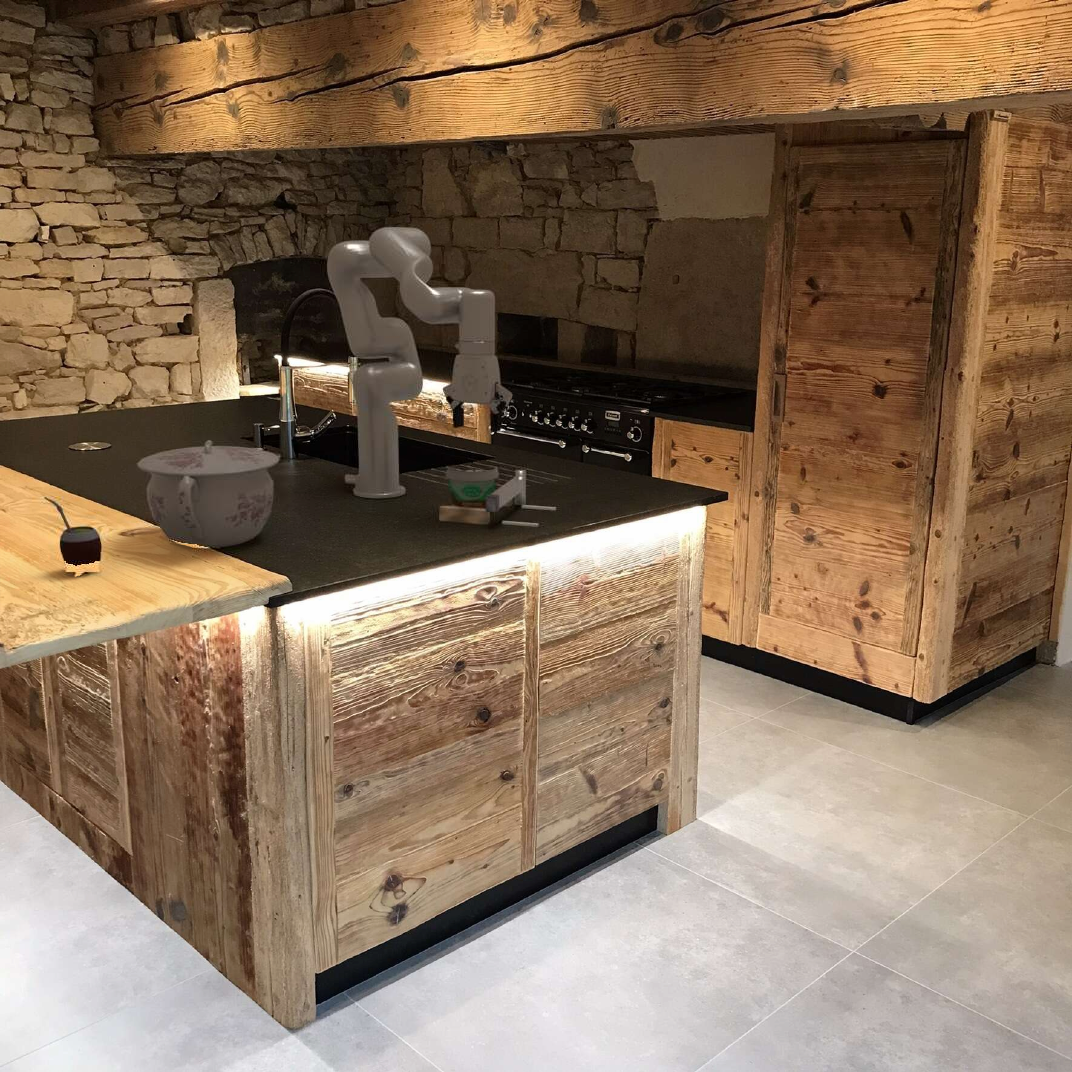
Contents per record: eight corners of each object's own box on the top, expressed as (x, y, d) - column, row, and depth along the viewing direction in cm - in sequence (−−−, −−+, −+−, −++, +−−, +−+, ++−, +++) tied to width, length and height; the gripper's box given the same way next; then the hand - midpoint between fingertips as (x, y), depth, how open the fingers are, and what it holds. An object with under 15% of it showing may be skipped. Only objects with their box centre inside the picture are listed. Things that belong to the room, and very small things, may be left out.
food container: (450, 516, 245) (450, 473, 242) (445, 510, 250) (445, 467, 248) (504, 514, 248) (504, 471, 245) (497, 508, 254) (498, 465, 251)
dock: (439, 520, 241) (439, 507, 240) (467, 501, 260) (467, 488, 259) (486, 524, 238) (486, 511, 238) (512, 504, 257) (512, 492, 256)
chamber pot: (230, 517, 241) (225, 424, 236) (311, 539, 224) (307, 440, 219) (113, 541, 220) (104, 440, 215) (192, 568, 203) (185, 459, 198)
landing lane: (502, 524, 239) (502, 521, 239) (522, 507, 255) (522, 504, 255) (537, 526, 237) (537, 524, 237) (555, 509, 253) (556, 507, 253)
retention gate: (485, 527, 235) (485, 491, 233) (516, 502, 258) (517, 469, 256) (496, 528, 234) (496, 491, 232) (526, 503, 257) (527, 470, 255)
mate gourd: (109, 566, 204) (102, 488, 200) (94, 579, 196) (86, 497, 192) (68, 566, 203) (60, 487, 199) (51, 578, 196) (43, 497, 192)
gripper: (433, 348, 233) (434, 427, 237) (501, 353, 224) (501, 435, 229) (453, 345, 239) (454, 423, 243) (520, 350, 230) (520, 430, 235)
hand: (477, 429), depth 236 cm, fingers open, 9 cm apart
